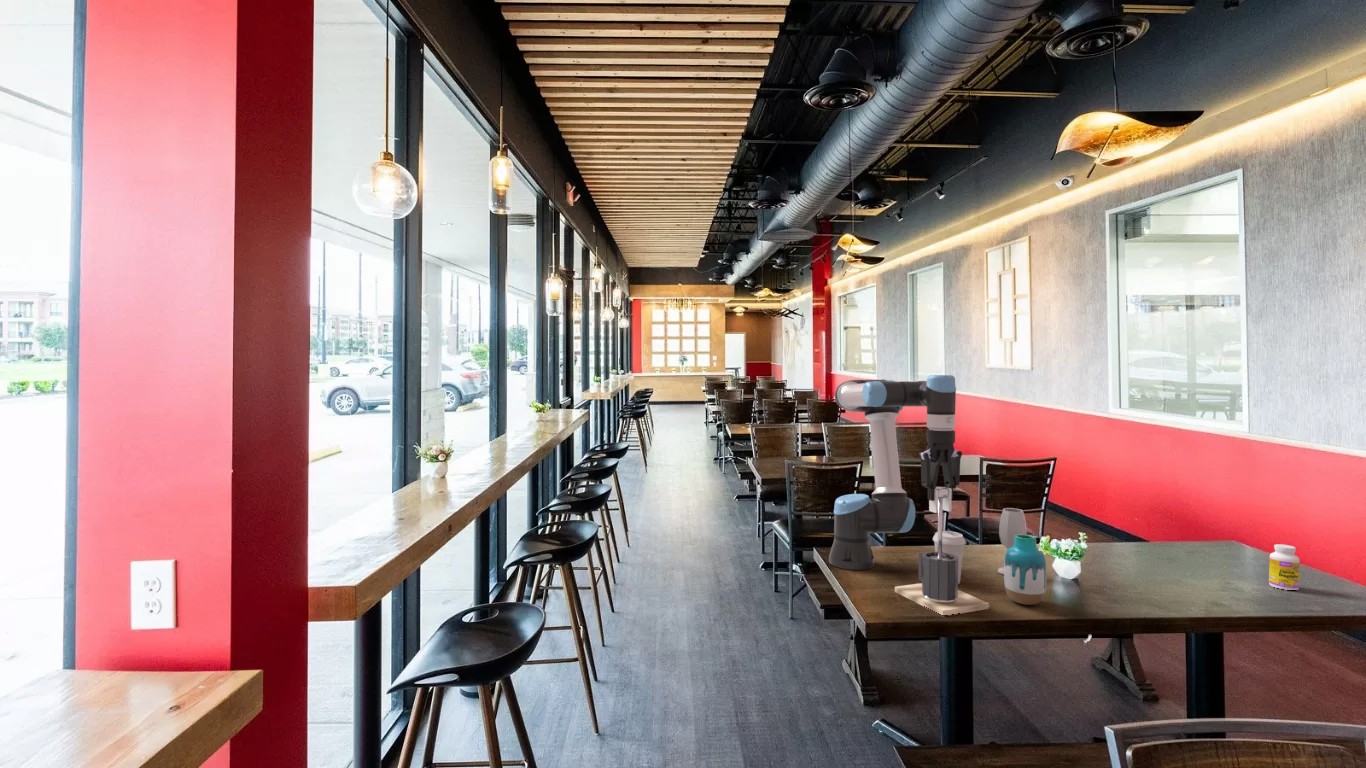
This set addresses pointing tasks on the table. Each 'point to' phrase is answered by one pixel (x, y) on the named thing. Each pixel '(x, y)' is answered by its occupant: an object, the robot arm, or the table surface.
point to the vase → (1025, 571)
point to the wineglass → (1011, 527)
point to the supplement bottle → (1284, 568)
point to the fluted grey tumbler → (939, 577)
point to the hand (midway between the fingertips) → (940, 511)
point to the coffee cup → (952, 546)
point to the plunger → (940, 521)
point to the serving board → (961, 606)
